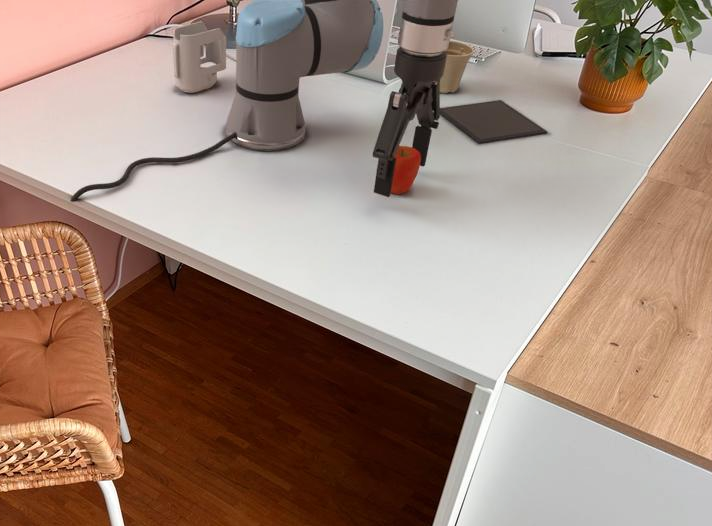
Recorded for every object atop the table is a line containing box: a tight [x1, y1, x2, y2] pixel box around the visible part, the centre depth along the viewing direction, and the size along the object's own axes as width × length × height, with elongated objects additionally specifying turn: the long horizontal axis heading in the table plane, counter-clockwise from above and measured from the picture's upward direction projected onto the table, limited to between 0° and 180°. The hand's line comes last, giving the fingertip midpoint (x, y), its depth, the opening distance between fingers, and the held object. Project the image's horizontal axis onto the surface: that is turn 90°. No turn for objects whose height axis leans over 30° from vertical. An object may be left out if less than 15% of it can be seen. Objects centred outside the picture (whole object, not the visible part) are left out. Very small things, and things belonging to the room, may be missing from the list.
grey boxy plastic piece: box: [172, 20, 227, 94], centre depth 149 cm, size 7×12×12 cm, turn 135°
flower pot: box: [440, 40, 475, 94], centre depth 153 cm, size 9×9×9 cm
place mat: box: [440, 99, 548, 145], centre depth 144 cm, size 16×16×1 cm
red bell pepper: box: [391, 145, 421, 195], centre depth 119 cm, size 6×6×8 cm
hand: (400, 178), depth 120 cm, fingers open, 13 cm apart
